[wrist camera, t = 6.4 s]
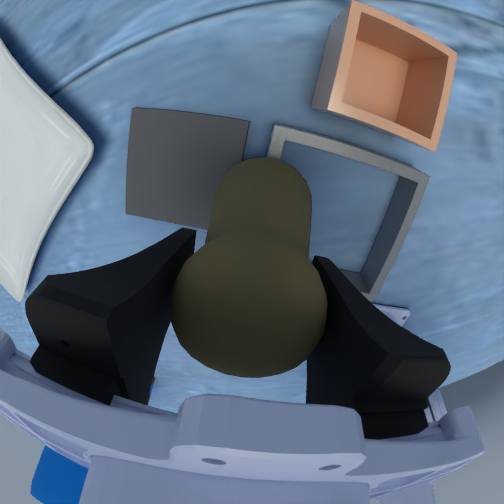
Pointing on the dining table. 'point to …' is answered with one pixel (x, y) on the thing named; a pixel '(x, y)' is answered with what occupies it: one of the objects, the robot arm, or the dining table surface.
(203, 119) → the dark grey rubber mat
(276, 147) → the grey rectangular frame
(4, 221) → the square plate
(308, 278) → the cork
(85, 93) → the dining table surface
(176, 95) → the dining table surface
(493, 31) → the dining table surface
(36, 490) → the thermos
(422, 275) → the dining table surface
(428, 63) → the terracotta pot
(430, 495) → the robot arm
